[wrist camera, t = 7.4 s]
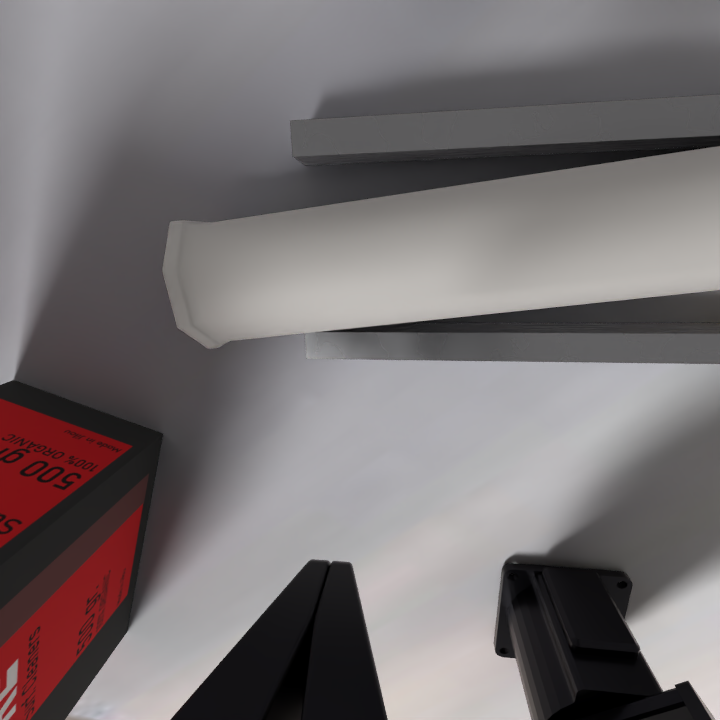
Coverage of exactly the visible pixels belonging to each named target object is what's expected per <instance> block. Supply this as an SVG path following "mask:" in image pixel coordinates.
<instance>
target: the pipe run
mask: <svg viewBox="0 0 720 720" xmlns="http://www.w3.org/2000/svg"><path fill="white" fill-rule="evenodd" d="M290 126H291V141H292V156H293V157H294V158H295V159H297V160H298V161H299V162H301V163H302V164H304V165H305V166H311V165H333V164H354V163H375V162H397V161H418V160H439V159H461V158H482V157H503V156H525V155H546V154H567V153H589V152H610V151H631V150H653V149H674V148H695V147H716V146H720V94H717V95H701V96H685V97H668V98H652V99H636V100H619V101H603V102H587V103H570V104H554V105H538V106H521V107H505V108H489V109H472V110H456V111H439V112H423V113H407V114H390V115H374V116H358V117H341V118H325V119H309V120H292V121H290ZM305 347H306V359H370V360H449V361H528V362H607V363H686V364H720V323H422V322H407V323H398V324H388V325H379V326H369V327H359V328H350V329H340V330H331V331H321V332H311V333H305Z"/></svg>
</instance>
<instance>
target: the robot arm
mask: <svg viewBox="0 0 720 720" xmlns="http://www.w3.org/2000/svg"><path fill="white" fill-rule="evenodd" d="M510 573H514V574H510ZM620 581H621V582H620ZM631 589H632V582H631V580H630V578H629V577H628V575H627V574H626V573H624V572H621V571H611V570H597V569H583V568H569V567H555V566H541V565H527V564H513V563H511V564H507V565H505V566H504V567H503V568H502V572H501V582H500V591H499V600H498V609H497V618H496V628H495V637H494V647H495V652H496V654H497V655H499V656H501V657H507V658H516V661H517V665H518V669H519V672H520V676H521V680H522V684H523V688H524V692H525V696H526V700H527V704H528V708H529V712H530V715H531V719H532V720H715V718H714V717H713V715H712V714H711V713H710V711H709V710H708V708H707V707H706V705H705V704H704V703H703V701H702V700H701V698H700V697H699V695H698V694H697V693H696V691H695V690H694V688H693V687H692V685H691V684H690V683H689V681H685V682H682V683H679V684H676V685H675V687H676V688H674V689H671V690H667V691H664V692H663V690H662V688H661V687H660V685H659V683H658V681H657V680H656V678H655V676H654V674H653V672H652V671H651V669H650V667H649V665H648V663H647V662H646V660H645V658H644V656H643V655H642V653H641V651H640V647H639V645H638V643H637V641H636V639H635V638H634V636H633V634H632V632H631V631H630V629H629V627H628V625H627V623H626V622H625V620H624V619H625V614H626V610H627V606H628V602H629V598H630V594H631ZM171 720H388V719H387V715H386V710H385V706H384V702H383V697H382V693H381V689H380V684H379V680H378V676H377V671H376V667H375V662H374V658H373V654H372V649H371V645H370V641H369V636H368V632H367V627H366V623H365V619H364V614H363V610H362V606H361V601H360V597H359V592H358V588H357V584H356V579H355V575H354V571H353V566H352V564H351V563H350V562H341V561H333V562H332V563H330V562H329V561H327V560H314V559H313V560H310V561H309V562H308V563H307V564H306V565H305V566H304V567H303V568H302V569H301V571H300V572H299V573H298V574H297V575H296V576H295V577H294V579H293V580H292V581H291V582H290V583H289V584H288V585H287V587H286V588H285V589H284V590H283V591H282V592H281V594H280V595H279V596H278V597H277V598H276V599H275V600H274V602H273V603H272V604H271V605H270V606H269V607H268V608H267V610H266V611H265V612H264V613H263V614H262V615H261V616H260V618H259V619H258V620H257V621H256V622H255V623H254V624H253V626H252V627H251V628H250V629H249V630H248V631H247V633H246V634H245V635H244V636H243V637H242V638H241V639H240V641H239V642H238V643H237V644H236V645H235V646H234V647H233V649H232V650H231V651H230V652H229V653H228V654H227V655H226V657H225V658H224V659H223V660H222V661H221V662H220V663H219V665H218V666H217V667H216V668H215V669H214V670H213V672H212V673H211V674H210V675H209V676H208V677H207V678H206V680H205V681H204V682H203V683H202V684H201V685H200V686H199V688H198V689H197V690H196V691H195V692H194V693H193V694H192V696H191V697H190V698H189V699H188V700H187V701H186V703H185V704H184V705H183V706H182V707H181V708H180V709H179V711H178V712H177V713H176V714H175V715H174V716H173V717H172V719H171Z"/></svg>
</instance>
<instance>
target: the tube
mask: <svg viewBox="0 0 720 720" xmlns="http://www.w3.org/2000/svg"><path fill="white" fill-rule="evenodd" d="M162 273H163V277H164V280H165V284H166V288H167V292H168V295H169V299H170V303H171V307H172V310H173V314H174V318H175V321H176V325H177V328H178V329H180V330H181V331H183V332H184V333H186V334H187V335H189V336H190V337H191V338H193V339H194V340H196V341H197V342H199V343H200V344H202V345H203V346H205V347H206V348H207V349H212V348H219V347H221V346H222V345H224V344H226V343H227V342H229V341H235V340H244V339H254V338H263V337H273V336H283V335H292V334H302V333H311V332H321V331H331V330H340V329H350V328H359V327H369V326H379V325H388V324H398V323H407V322H417V321H427V320H436V319H446V318H455V317H465V316H475V315H484V314H494V313H503V312H513V311H523V310H532V309H542V308H551V307H561V306H571V305H580V304H590V303H599V302H609V301H619V300H628V299H638V298H647V297H657V296H667V295H676V294H686V293H695V292H705V291H715V290H720V146H717V147H710V148H704V149H697V150H690V151H684V152H677V153H670V154H664V155H657V156H650V157H644V158H637V159H630V160H624V161H617V162H610V163H604V164H597V165H590V166H584V167H577V168H570V169H564V170H557V171H550V172H544V173H537V174H530V175H524V176H517V177H510V178H504V179H497V180H490V181H484V182H477V183H470V184H464V185H457V186H450V187H444V188H437V189H430V190H424V191H417V192H410V193H404V194H397V195H390V196H384V197H377V198H370V199H364V200H357V201H350V202H344V203H337V204H330V205H324V206H317V207H311V208H304V209H297V210H291V211H284V212H277V213H271V214H264V215H257V216H251V217H244V218H237V219H231V220H224V221H217V222H211V223H209V222H200V221H188V220H178V221H170V224H169V230H168V236H167V242H166V249H165V255H164V261H163V268H162Z"/></svg>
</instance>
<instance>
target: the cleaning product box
mask: <svg viewBox="0 0 720 720" xmlns="http://www.w3.org/2000/svg"><path fill="white" fill-rule="evenodd" d="M162 437H163V434H162V433H159V432H156V431H154V430H151V429H148V428H145V427H143V426H140V425H137V424H134V423H131V422H129V421H126V420H123V419H120V418H118V417H115V416H112V415H109V414H106V413H104V412H101V411H98V410H95V409H92V408H90V407H87V406H84V405H81V404H79V403H76V402H73V401H70V400H67V399H65V398H62V397H59V396H56V395H54V394H51V393H48V392H45V391H42V390H40V389H37V388H34V387H31V386H28V385H26V384H23V383H20V382H17V381H15V380H13V381H10V382H7V383H5V384H2V385H0V720H65V719H66V717H67V716H68V714H69V713H70V712H71V710H72V709H73V707H74V706H75V705H76V703H77V702H78V700H79V699H80V698H81V696H82V695H83V693H84V692H85V690H86V689H87V688H88V686H89V685H90V683H91V682H92V681H93V679H94V678H95V676H96V675H97V674H98V672H99V671H100V669H101V668H102V666H103V665H104V664H105V662H106V661H107V659H108V658H109V657H110V655H111V654H112V652H113V651H114V650H115V648H116V647H117V645H118V644H119V642H120V641H121V640H122V638H123V637H124V635H125V634H126V633H127V629H128V623H129V618H130V612H131V607H132V601H133V596H134V590H135V585H136V579H137V574H138V568H139V563H140V558H141V552H142V547H143V541H144V536H145V530H146V525H147V519H148V514H149V508H150V503H151V497H152V492H153V486H154V481H155V475H156V470H157V464H158V459H159V453H160V448H161V442H162Z"/></svg>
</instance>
